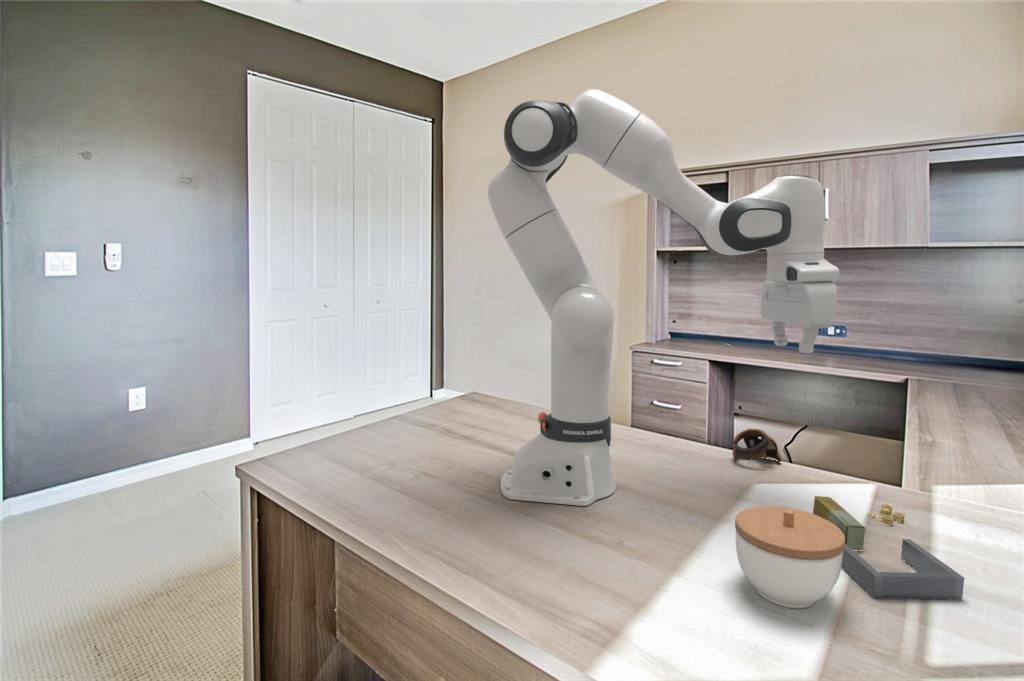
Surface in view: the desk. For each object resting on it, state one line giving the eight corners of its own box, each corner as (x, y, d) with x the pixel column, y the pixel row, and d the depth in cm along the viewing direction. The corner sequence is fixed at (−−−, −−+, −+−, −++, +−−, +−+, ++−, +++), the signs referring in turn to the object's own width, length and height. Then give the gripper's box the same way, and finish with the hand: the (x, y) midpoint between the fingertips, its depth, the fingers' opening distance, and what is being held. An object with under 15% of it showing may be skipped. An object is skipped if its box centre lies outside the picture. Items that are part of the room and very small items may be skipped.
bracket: (873, 598, 69) (875, 576, 69) (830, 557, 79) (832, 538, 79) (962, 599, 69) (964, 577, 69) (908, 558, 79) (909, 539, 79)
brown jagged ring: (791, 471, 115) (778, 441, 113) (748, 487, 117) (734, 458, 115) (770, 440, 126) (758, 412, 124) (730, 456, 128) (718, 428, 126)
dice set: (886, 514, 95) (886, 503, 95) (912, 527, 90) (913, 516, 90) (860, 516, 94) (861, 505, 94) (885, 530, 89) (886, 519, 89)
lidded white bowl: (733, 609, 67) (737, 524, 66) (731, 559, 79) (734, 486, 78) (850, 632, 63) (857, 542, 62) (830, 576, 75) (835, 499, 73)
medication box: (864, 553, 81) (867, 527, 81) (845, 552, 81) (847, 526, 81) (827, 517, 93) (830, 495, 92) (811, 516, 93) (813, 494, 93)
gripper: (752, 271, 106) (751, 342, 107) (805, 271, 85) (802, 358, 87) (785, 270, 105) (783, 341, 107) (846, 269, 85) (843, 356, 87)
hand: (792, 348), depth 97 cm, fingers open, 8 cm apart
